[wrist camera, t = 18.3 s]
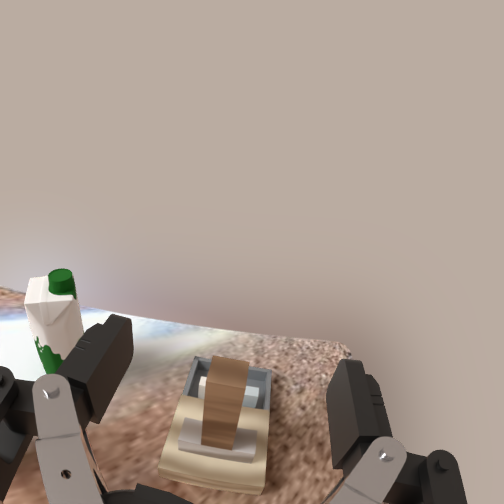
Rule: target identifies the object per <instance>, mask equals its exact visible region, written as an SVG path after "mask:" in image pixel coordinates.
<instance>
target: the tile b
mask: <svg viewBox="0 0 504 504" xmlns="http://www.w3.org/2000/svg"><path fill="white" fill-rule="evenodd" d="M258 394H259V388H257V387H251V386H246V390H245V394H244V399H243V403H242V406H243V407H250V408H255V407H256V403H257V399H258Z"/></svg>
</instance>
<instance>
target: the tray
mask: <svg viewBox="0 0 504 504" xmlns="http://www.w3.org/2000/svg"><path fill="white" fill-rule="evenodd" d="M211 361H212V360H211V359H206V358H201V357H197V356H195V358H194V361H193V364H192V367H191V369H190V372H189V375H188V378H187V381H186V384H185V387H184V390H183V393H182V395H186V396H191V397H195V398H198V390H199V383H200V379H201V376H203V377H207V375H208V372H209V368H210V364H211ZM271 374H272V370H269V369H263V368H256V367H250V366H249V369H248V376H247V383H246V386H251V387H257V388H259V394H258V399H257V403H256V407H255V408H256V409H263V410H269V408H270V392H271Z"/></svg>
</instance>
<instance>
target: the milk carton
mask: <svg viewBox="0 0 504 504" xmlns="http://www.w3.org/2000/svg"><path fill="white" fill-rule="evenodd" d="M24 305H25V309H26V313H27V317H28V320H29V324H30V328H31V331H32V335H33V338H34V341H35V344H36V347H37V351H38V354H39V357H40V359H41V362H42V364H43V367H44V369H45V371H46V374H54V373H55V372H56V371H57V370H58V368H59V367H60V365H61V364H62V363H63V361H64V360H65V358H66V357H67V356H68V354H69V353H70V352H71V350H72V349H73V348H74V347H75V345H76V344H77V342H78V341H79V340H80V338H81V337H82V336H83V334H84V330H83V325H82V319H81V313H80V308H79V303H78V298H77V293H76V287H75V282H74V276H73V274H72V272H71V271H70V270H68V269H56V270H53V271H52V272H50V273H49V275H48V276H44V277H37V278H30V281H29V284H28V289H27V293H26V297H25V302H24Z"/></svg>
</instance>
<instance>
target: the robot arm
mask: <svg viewBox="0 0 504 504" xmlns="http://www.w3.org/2000/svg"><path fill="white" fill-rule="evenodd" d="M133 351H134V346H133V334H132V322H131V319H130V318H126V317H122V316H118V315H115V314H111V315H110V316H109V318H108V319H107V320H106V322H105V323H104V324H103V325H102V324H99V323H97V324H95V325H94V326H92V327H91V328H89V329H87V330H86V332H85V333H84V334H83V336H82V337H81V338H80V340H79V341H78V342H77V344H76V345H75V347H74V348H73V349H72V350H71V352H70V353H69V354H68V356H67V357H66V358H65V360H64V361H63V363H62V364H61V365H60V367H59V368H58V370H57V371H56V372H55V373H54V374H46V375H43V376H41V377H40V378H38V379H37V380H36V381H35V382H34V381H26V380H19V379H15V378H14V376H13V373H12V372H11V371H10V370H9V369H8V368H6V367H3V366H0V504H3V501H4V499H5V496H6V494H7V492H8V489H9V487H10V485H11V482H12V480H13V478H14V476H15V473H16V471H17V469H18V467H19V465H20V463H21V460H22V458H23V456H24V454H25V452H26V450H27V448H28V446H29V444H30V442H31V440H32V438H33V436H38V437H39V439H37V440H36V441H35V445H36V451H37V456H38V461H39V466H40V471H41V475H42V479H43V483H44V487H45V491H46V494H47V498H48V501H49V504H193V503H191V502H189V501H187V500H184V499H182V498H180V497H178V496H176V495H174V494H172V493H170V492H166V491H162V490H159V489H155V488H152V487H148V486H145V485H141V484H138V483H137V485H136V488H135V490H115V491H111V492H109V491H108V489H107V486H106V484H105V482H104V479H103V477H102V475H101V473H100V470H99V467H98V465H97V462H96V459H95V456H94V453H93V450H92V447H91V443H90V440H89V437H88V434H87V430H86V427H87V425H88V423H89V421H91V422H94V423H97V424H99V423H100V421H101V419H102V417H103V415H104V413H105V411H106V409H107V407H108V405H109V403H110V401H111V399H112V398H113V396H114V394H115V392H116V390H117V388H118V386H119V384H120V382H121V380H122V378H123V376H124V374H125V372H126V371H127V369H128V367H129V365H130V363H131V360H132V357H133ZM381 396H382V394H381V391H380V387H379V384H378V383H377V382H376V380H375V379H374V378H373V376H372V375H368V374H365V371H364V368H363V364H362V362H361V361H359V360H350V359H341V360H340V362H339V364H338V366H337V368H336V371H335V373H334V375H333V377H332V379H331V381H330V383H329V385H328V389H327V394H326V403H327V412H328V422H329V431H330V442H331V453H332V465H333V469H343V477H342V478H341V479H340V480H339V482H338V483H337V484H336V485H335V487H334V488H333V489H332V490H331V491H330V493H329V494H328V495H327V496H326V497H325V499H324V500H323V501H322V502H321V503H320V504H382V502H386V503H389V504H467V500H466V496H465V491H464V487H463V483H462V479H461V475H460V471H459V467H458V463H457V461H456V459H455V457H454V456H453V455H452V454H450V453H449V452H447V451H445V450H436V451H433V452H432V453H431V454H430V455H429V456H428V457H425V456H420V455H416V454H412V453H409V452H406V450H405V447H404V446H403V445H402V443H401V442H399V441H398V440H396V439H394V438H393V436H392V432H391V428H390V424H389V420H388V417H387V413H386V409H385V406H384V402H383V398H382V397H381Z"/></svg>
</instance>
